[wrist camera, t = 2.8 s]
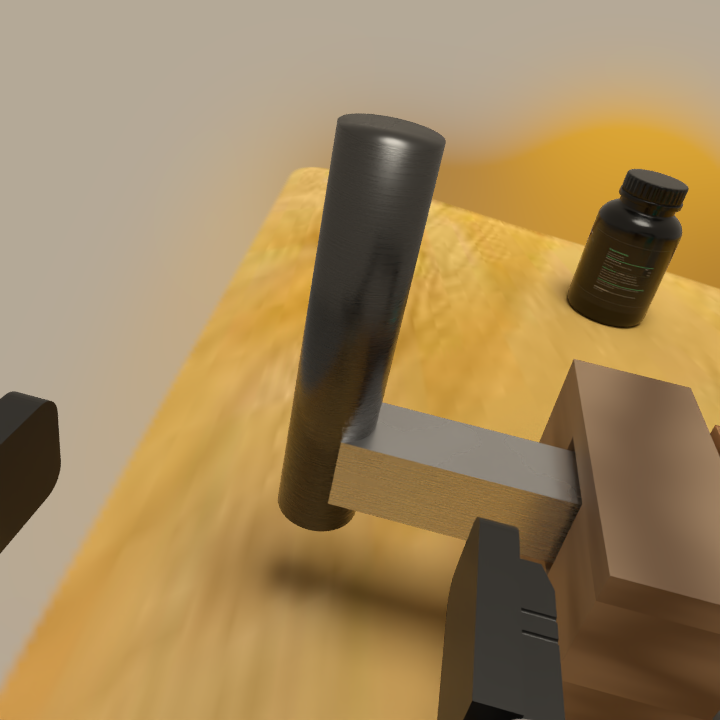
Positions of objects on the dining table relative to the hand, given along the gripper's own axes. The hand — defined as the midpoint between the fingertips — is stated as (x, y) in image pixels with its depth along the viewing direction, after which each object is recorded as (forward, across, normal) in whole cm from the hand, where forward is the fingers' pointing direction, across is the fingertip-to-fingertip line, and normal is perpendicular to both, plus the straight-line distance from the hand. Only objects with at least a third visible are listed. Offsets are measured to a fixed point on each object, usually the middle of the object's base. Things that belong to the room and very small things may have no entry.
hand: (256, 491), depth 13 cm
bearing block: (+11, -15, +16) cm, 25 cm away
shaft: (+11, -9, +11) cm, 18 cm away
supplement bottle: (+49, -18, +16) cm, 54 cm away
